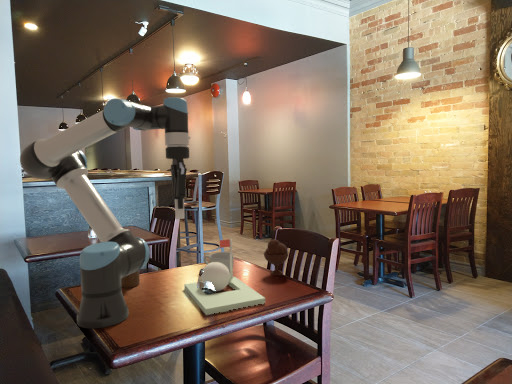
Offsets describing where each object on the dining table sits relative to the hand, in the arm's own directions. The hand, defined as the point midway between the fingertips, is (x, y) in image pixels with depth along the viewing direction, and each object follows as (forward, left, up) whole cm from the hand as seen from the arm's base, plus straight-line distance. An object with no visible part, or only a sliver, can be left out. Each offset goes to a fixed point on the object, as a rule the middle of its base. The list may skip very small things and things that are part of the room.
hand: (180, 218), depth 123 cm
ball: (+19, -2, -25) cm, 32 cm away
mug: (+14, +33, -31) cm, 47 cm away
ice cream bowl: (+47, -18, -31) cm, 59 cm away
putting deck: (+15, -7, -30) cm, 35 cm away
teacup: (+43, +8, -31) cm, 53 cm away
